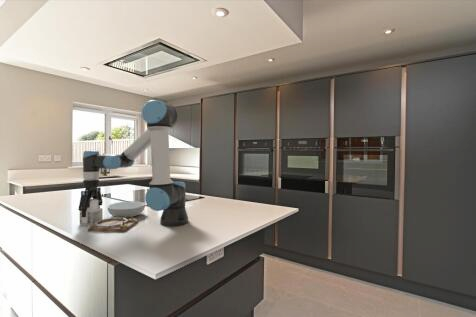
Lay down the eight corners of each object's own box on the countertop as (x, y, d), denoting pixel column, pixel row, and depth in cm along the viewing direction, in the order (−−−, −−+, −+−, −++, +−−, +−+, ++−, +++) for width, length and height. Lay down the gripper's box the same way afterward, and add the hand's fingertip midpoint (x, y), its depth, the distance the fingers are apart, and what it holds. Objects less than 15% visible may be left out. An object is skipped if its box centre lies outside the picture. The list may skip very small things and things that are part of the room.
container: (79, 225, 128) (79, 200, 127) (90, 221, 135) (90, 197, 135) (92, 226, 126) (92, 201, 126) (102, 221, 134) (102, 198, 133)
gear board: (138, 222, 134) (138, 215, 134) (124, 231, 118) (124, 223, 118) (105, 221, 134) (105, 214, 134) (87, 231, 118) (87, 223, 118)
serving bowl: (99, 218, 140) (99, 206, 140) (126, 210, 160) (126, 200, 160) (127, 222, 134) (127, 210, 133) (152, 213, 153) (152, 202, 153)
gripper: (96, 176, 141) (96, 214, 142) (69, 181, 118) (69, 226, 119) (109, 177, 142) (109, 214, 142) (85, 182, 119) (85, 226, 119)
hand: (91, 220), depth 131 cm, fingers open, 10 cm apart
